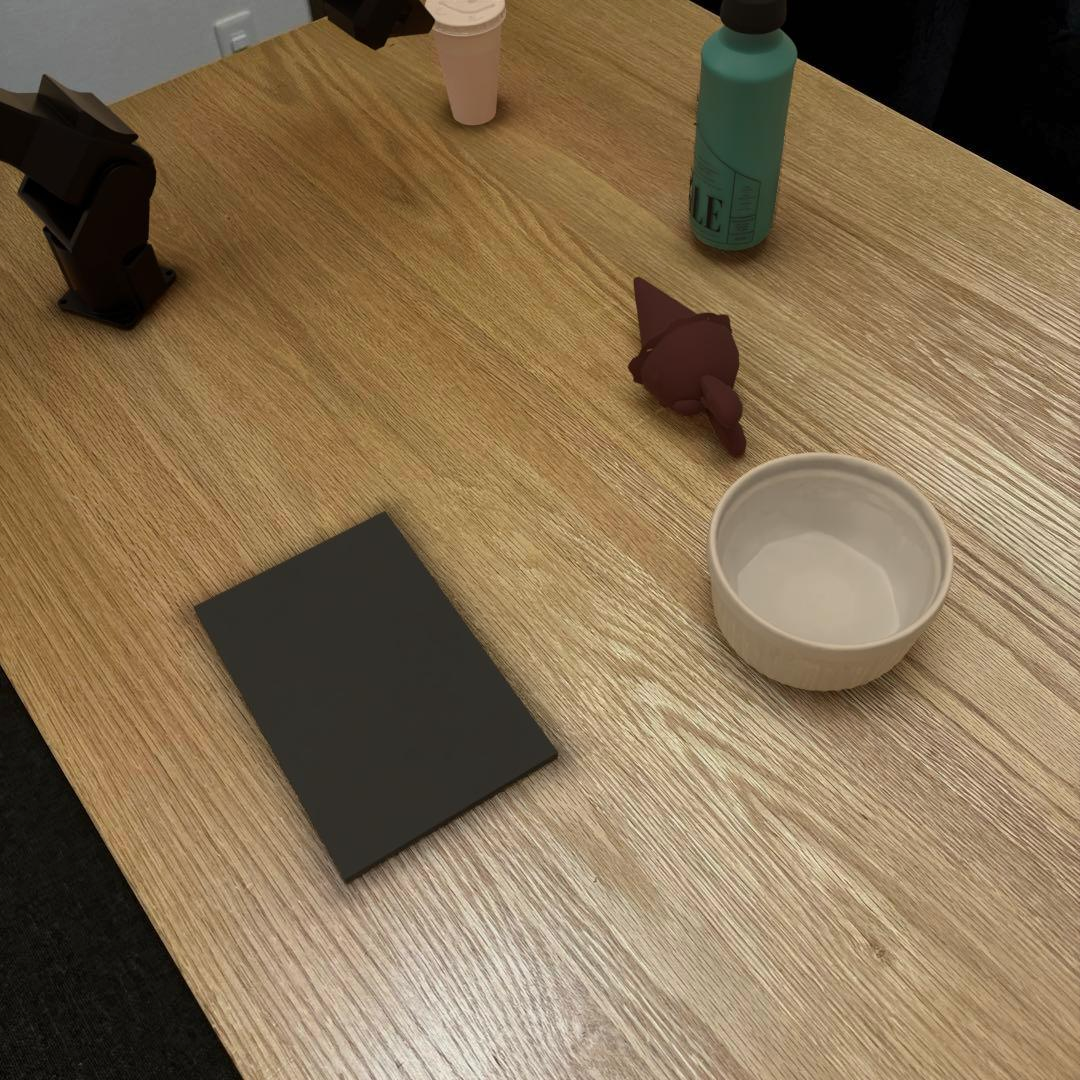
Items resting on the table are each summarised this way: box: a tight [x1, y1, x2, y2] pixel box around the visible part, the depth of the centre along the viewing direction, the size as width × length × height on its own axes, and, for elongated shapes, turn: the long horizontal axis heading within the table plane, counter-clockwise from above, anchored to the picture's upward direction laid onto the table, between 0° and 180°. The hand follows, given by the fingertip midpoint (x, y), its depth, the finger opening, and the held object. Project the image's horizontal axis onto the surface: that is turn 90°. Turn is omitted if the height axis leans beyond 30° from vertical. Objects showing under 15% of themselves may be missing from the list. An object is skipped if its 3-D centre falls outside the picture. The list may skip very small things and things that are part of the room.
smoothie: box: [424, 0, 507, 126], centre depth 95 cm, size 6×6×14 cm
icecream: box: [627, 276, 748, 459], centre depth 78 cm, size 7×7×15 cm
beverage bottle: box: [686, 0, 798, 251], centre depth 82 cm, size 6×7×20 cm
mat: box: [193, 510, 559, 884], centre depth 68 cm, size 20×13×1 cm, turn 32°
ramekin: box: [705, 451, 955, 692], centre depth 67 cm, size 13×13×7 cm
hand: (394, 1), depth 89 cm, fingers open, 9 cm apart
